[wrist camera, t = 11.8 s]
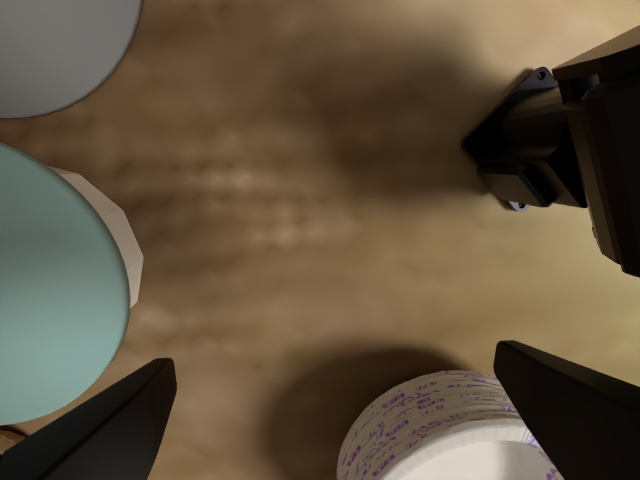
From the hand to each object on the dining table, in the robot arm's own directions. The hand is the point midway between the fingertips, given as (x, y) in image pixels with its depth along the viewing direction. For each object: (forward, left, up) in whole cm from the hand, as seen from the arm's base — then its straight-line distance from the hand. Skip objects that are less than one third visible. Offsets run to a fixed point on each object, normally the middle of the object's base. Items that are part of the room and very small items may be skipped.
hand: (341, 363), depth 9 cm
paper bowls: (+5, +17, -13) cm, 22 cm away
